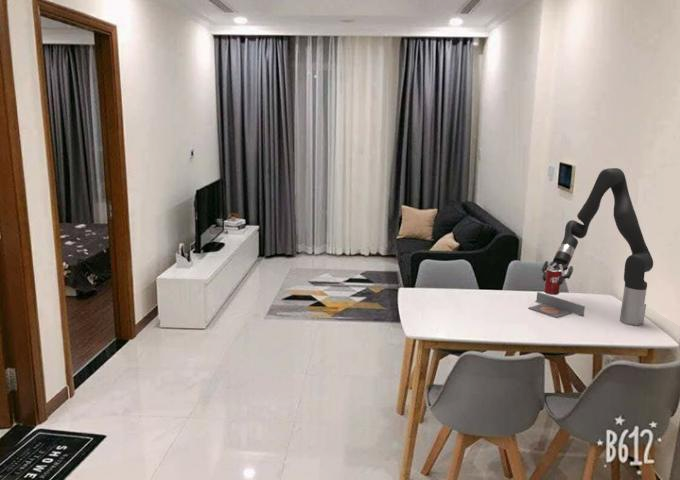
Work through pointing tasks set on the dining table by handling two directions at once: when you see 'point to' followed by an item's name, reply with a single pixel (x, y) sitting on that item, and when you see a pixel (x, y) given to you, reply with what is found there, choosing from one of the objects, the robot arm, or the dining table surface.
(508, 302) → the dining table surface
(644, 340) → the dining table surface
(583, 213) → the robot arm
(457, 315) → the dining table surface
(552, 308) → the mat
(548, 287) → the soda can
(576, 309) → the low wall
